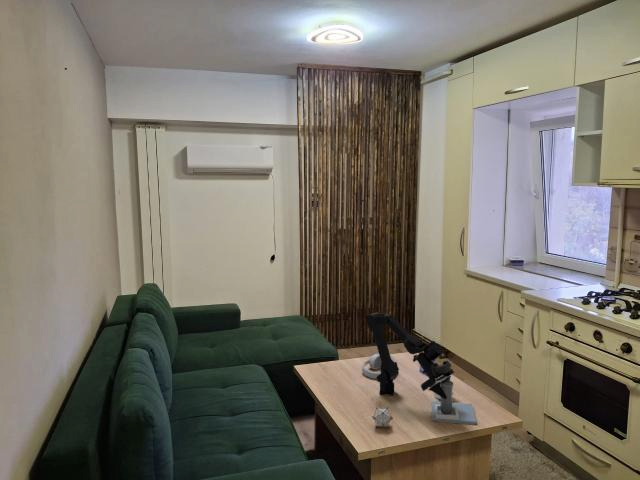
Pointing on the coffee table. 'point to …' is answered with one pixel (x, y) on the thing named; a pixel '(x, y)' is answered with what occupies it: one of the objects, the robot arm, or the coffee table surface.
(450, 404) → the grey tall cup
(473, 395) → the coffee table surface
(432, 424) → the coffee table surface
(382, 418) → the game die
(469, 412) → the grey base plate
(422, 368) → the medicine box
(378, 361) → the headphones
